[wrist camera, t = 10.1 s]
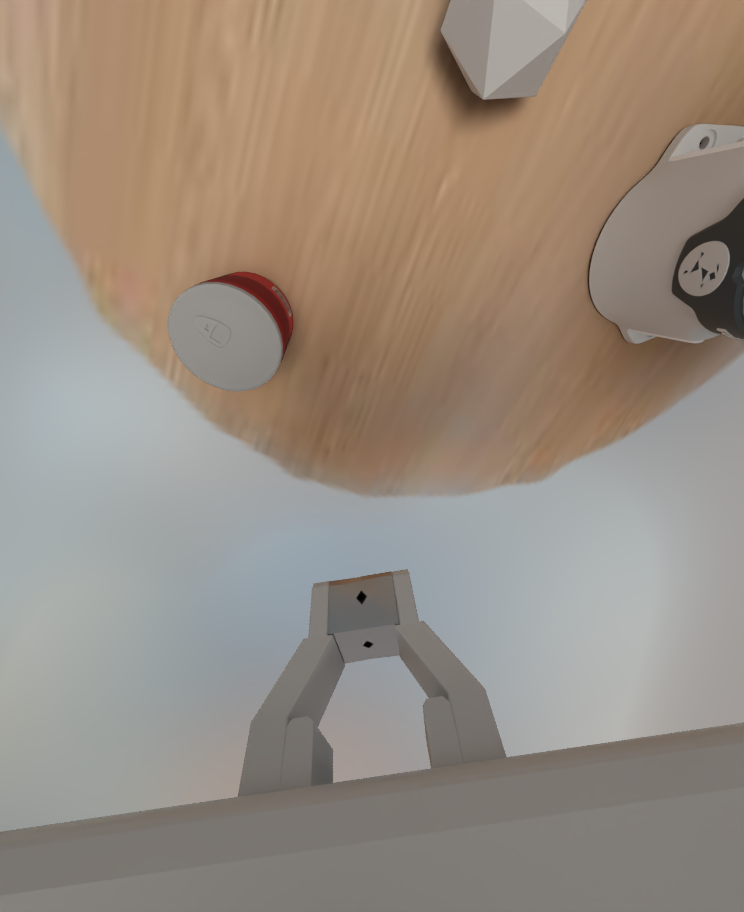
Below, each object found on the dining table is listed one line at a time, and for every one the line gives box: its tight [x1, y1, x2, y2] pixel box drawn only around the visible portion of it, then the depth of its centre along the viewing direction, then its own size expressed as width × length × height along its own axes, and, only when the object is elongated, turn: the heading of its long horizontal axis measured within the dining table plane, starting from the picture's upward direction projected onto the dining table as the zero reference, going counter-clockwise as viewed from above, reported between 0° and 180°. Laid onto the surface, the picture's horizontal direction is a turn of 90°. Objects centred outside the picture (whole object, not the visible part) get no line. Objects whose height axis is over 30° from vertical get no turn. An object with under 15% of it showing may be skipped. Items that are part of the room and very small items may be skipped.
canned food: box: [168, 272, 293, 391], centre depth 29 cm, size 8×8×11 cm
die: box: [440, 0, 587, 100], centre depth 22 cm, size 8×9×10 cm
